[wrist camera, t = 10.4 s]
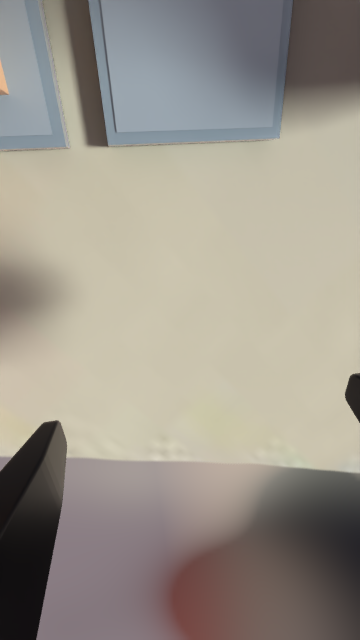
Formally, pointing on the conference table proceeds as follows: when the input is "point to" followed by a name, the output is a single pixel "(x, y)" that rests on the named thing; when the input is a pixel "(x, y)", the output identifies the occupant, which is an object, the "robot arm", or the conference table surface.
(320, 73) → the conference table surface
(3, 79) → the block
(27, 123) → the dish
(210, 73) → the dish
